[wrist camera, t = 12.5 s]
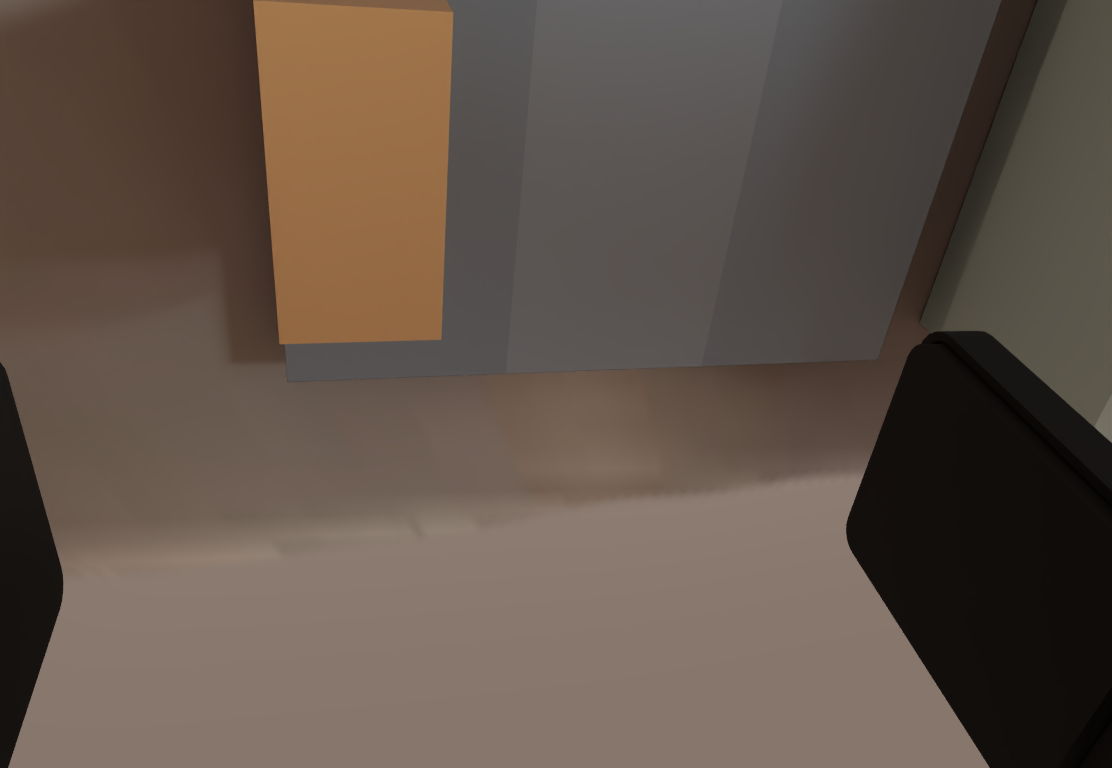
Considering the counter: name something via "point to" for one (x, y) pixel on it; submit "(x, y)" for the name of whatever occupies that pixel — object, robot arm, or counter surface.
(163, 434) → the counter surface
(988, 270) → the parts tub
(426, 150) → the snap lid
